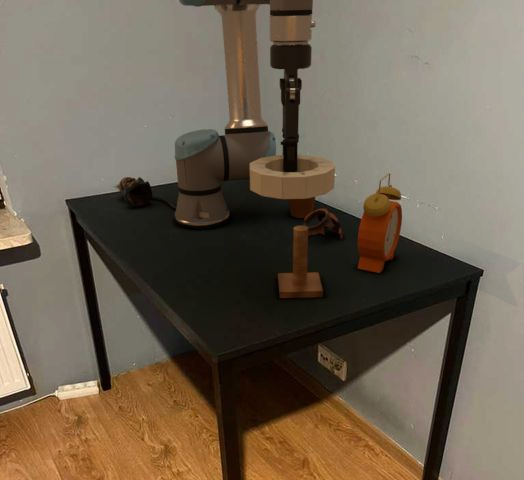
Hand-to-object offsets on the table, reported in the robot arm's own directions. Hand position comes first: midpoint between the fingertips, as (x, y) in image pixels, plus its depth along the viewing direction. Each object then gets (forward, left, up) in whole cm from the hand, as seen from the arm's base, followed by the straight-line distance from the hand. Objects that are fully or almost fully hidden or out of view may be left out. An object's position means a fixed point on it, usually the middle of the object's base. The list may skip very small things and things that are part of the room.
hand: (289, 175), depth 111 cm
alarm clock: (+11, +19, -23) cm, 31 cm away
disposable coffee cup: (-24, +33, -23) cm, 46 cm away
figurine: (-70, +8, -23) cm, 74 cm away
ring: (+4, -5, 0) cm, 7 cm away
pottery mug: (-9, +24, -23) cm, 34 cm away
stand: (+6, -3, -22) cm, 23 cm away
